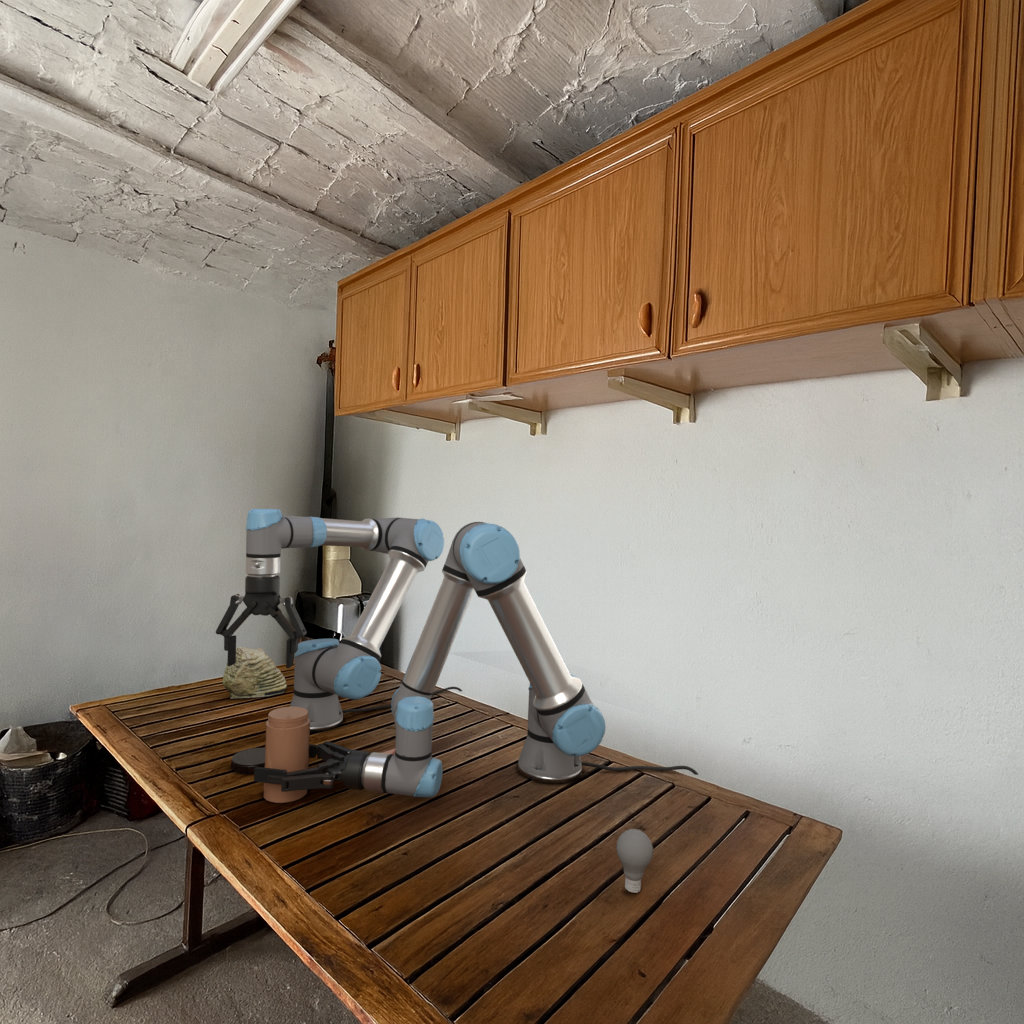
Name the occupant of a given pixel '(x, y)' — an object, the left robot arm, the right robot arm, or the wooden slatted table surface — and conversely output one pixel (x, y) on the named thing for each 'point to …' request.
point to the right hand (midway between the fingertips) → (272, 760)
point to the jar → (286, 748)
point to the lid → (248, 760)
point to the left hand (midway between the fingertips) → (260, 665)
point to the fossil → (253, 675)
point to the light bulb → (634, 857)
